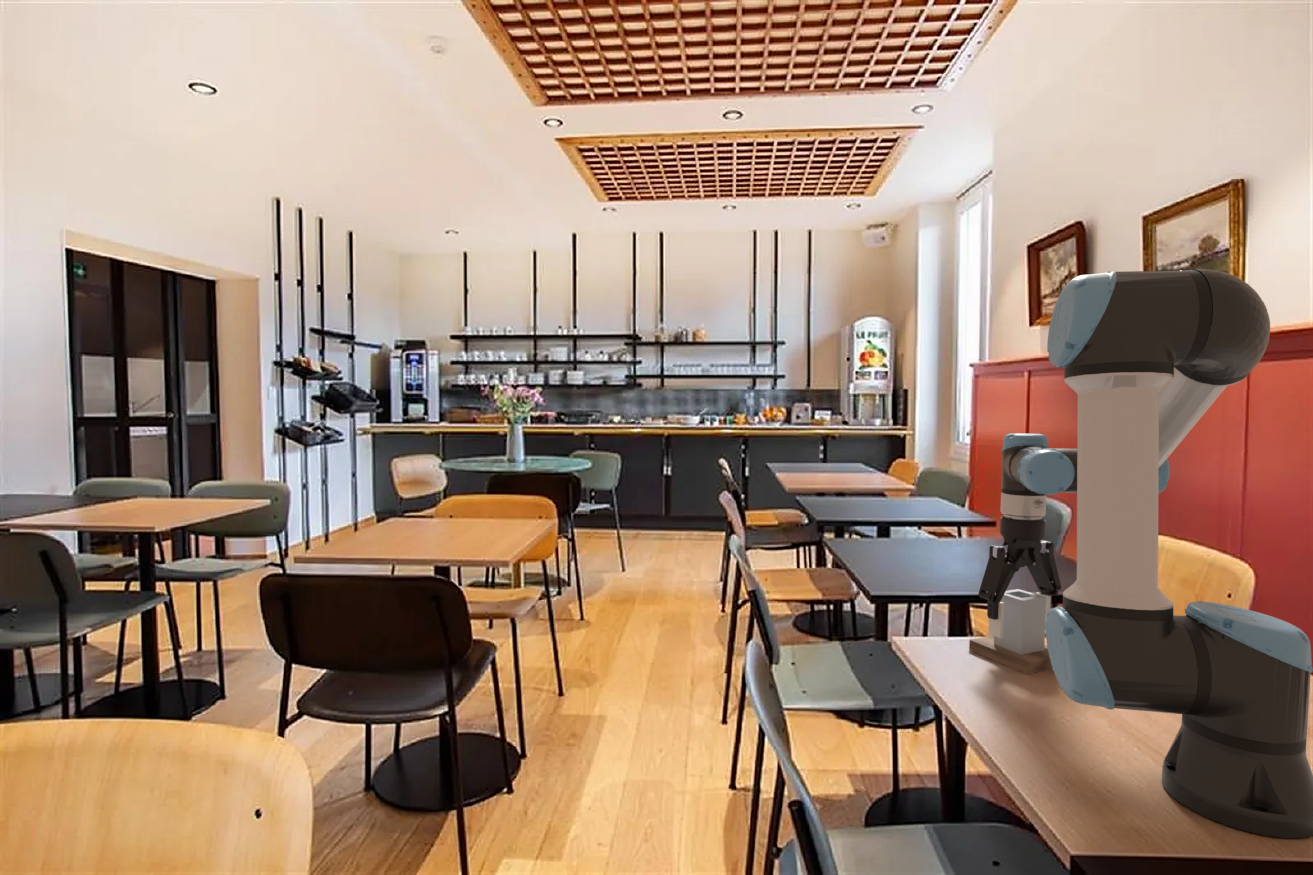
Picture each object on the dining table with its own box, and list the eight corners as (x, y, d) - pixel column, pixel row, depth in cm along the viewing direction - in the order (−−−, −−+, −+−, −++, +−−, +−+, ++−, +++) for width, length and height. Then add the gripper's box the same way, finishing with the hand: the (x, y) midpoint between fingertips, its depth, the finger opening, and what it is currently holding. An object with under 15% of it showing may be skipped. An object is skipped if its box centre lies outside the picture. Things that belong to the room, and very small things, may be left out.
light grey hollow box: (1020, 654, 130) (1022, 600, 130) (993, 644, 136) (995, 592, 135) (1044, 650, 132) (1046, 597, 132) (1016, 639, 138) (1018, 588, 137)
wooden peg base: (1027, 674, 126) (1028, 640, 126) (969, 650, 138) (970, 619, 138) (1070, 665, 130) (1071, 632, 130) (1010, 642, 142) (1011, 612, 142)
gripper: (992, 523, 125) (988, 646, 126) (1085, 515, 134) (1081, 629, 135) (959, 517, 132) (956, 633, 133) (1050, 509, 141) (1046, 618, 142)
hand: (1019, 631), depth 134 cm, fingers open, 11 cm apart
